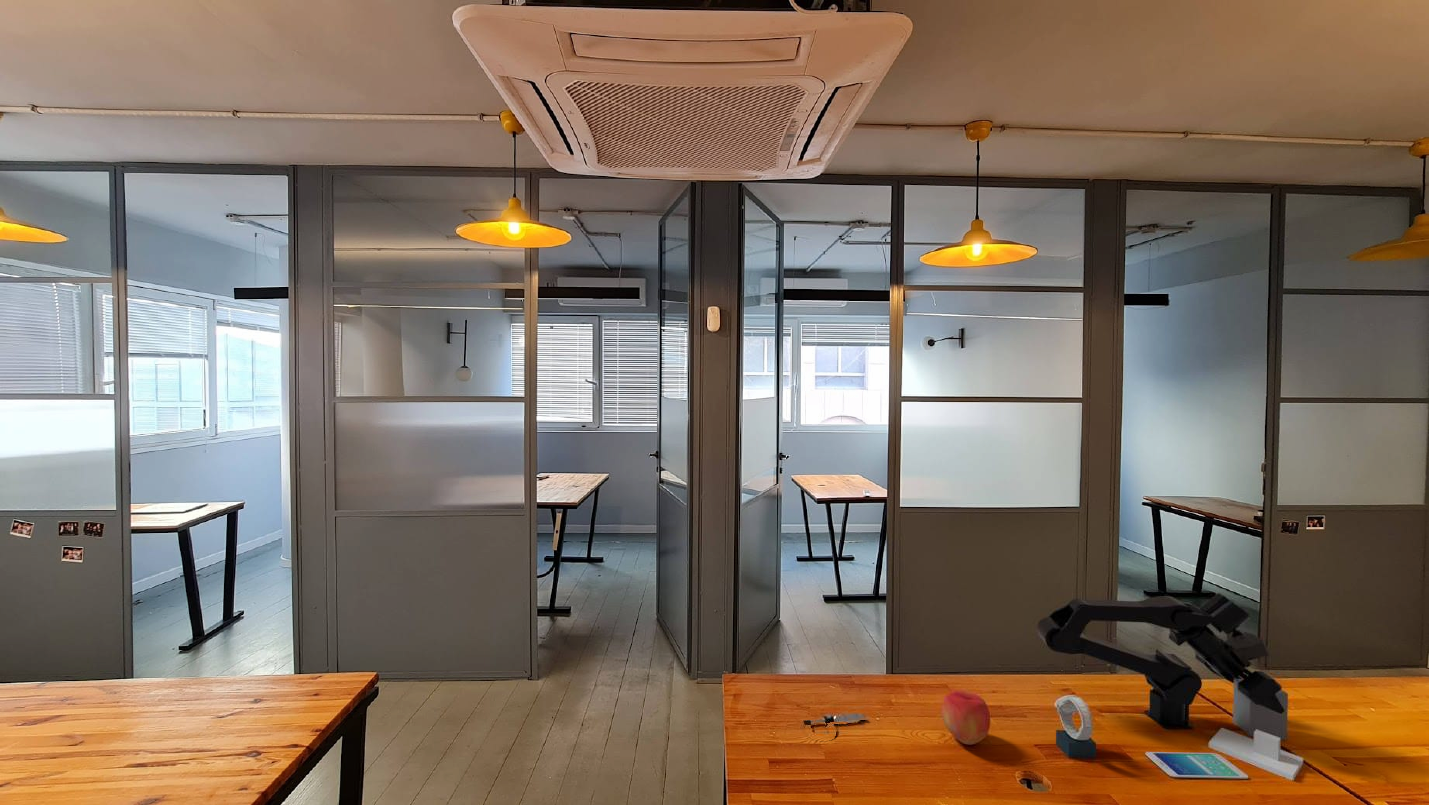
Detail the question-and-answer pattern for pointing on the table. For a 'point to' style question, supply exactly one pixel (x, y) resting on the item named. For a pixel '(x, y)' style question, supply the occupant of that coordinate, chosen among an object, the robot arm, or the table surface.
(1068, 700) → the watch
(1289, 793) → the table surface
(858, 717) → the micrometer
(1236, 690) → the gray rectangular block
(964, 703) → the apple
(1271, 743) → the post stand
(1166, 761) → the smartphone
